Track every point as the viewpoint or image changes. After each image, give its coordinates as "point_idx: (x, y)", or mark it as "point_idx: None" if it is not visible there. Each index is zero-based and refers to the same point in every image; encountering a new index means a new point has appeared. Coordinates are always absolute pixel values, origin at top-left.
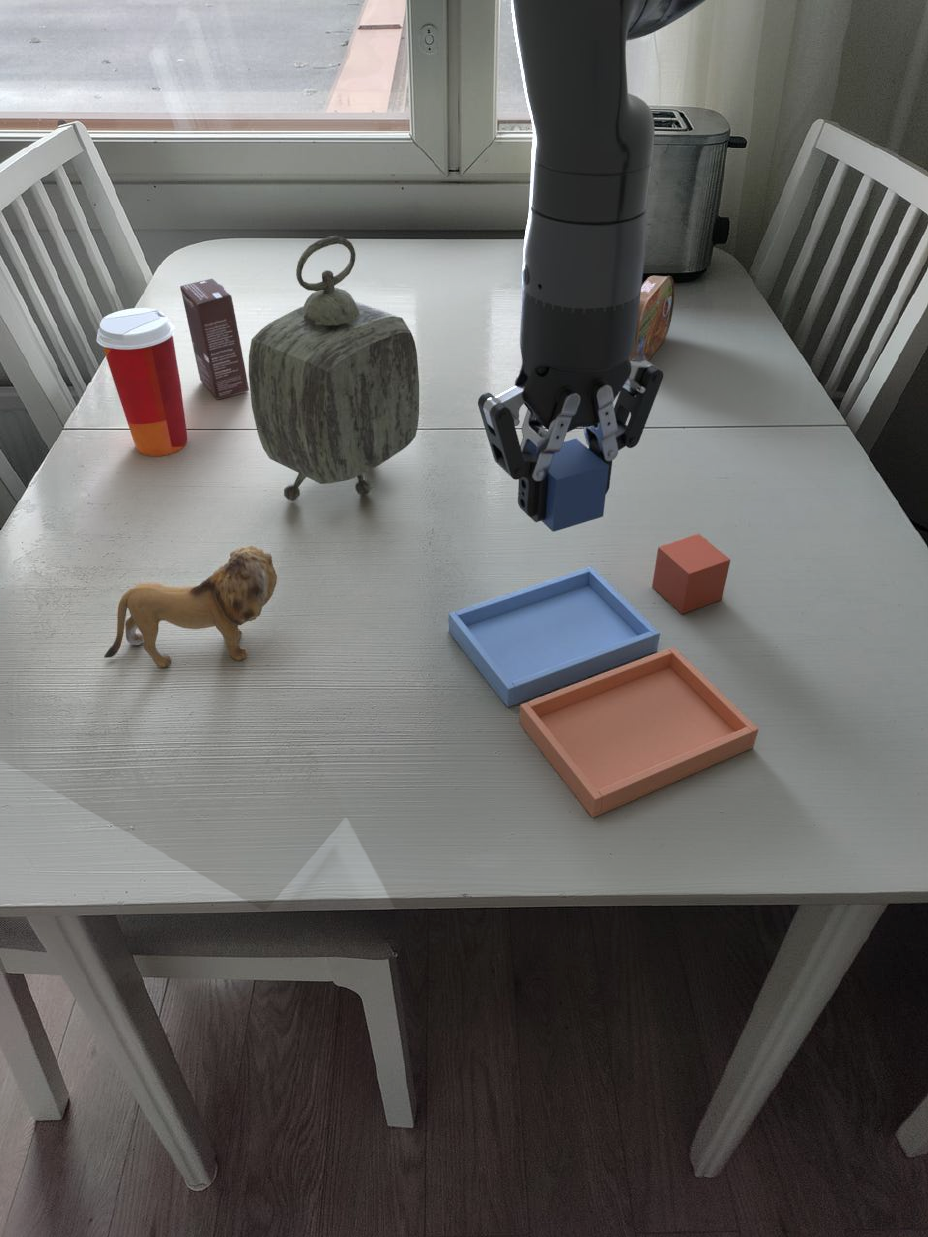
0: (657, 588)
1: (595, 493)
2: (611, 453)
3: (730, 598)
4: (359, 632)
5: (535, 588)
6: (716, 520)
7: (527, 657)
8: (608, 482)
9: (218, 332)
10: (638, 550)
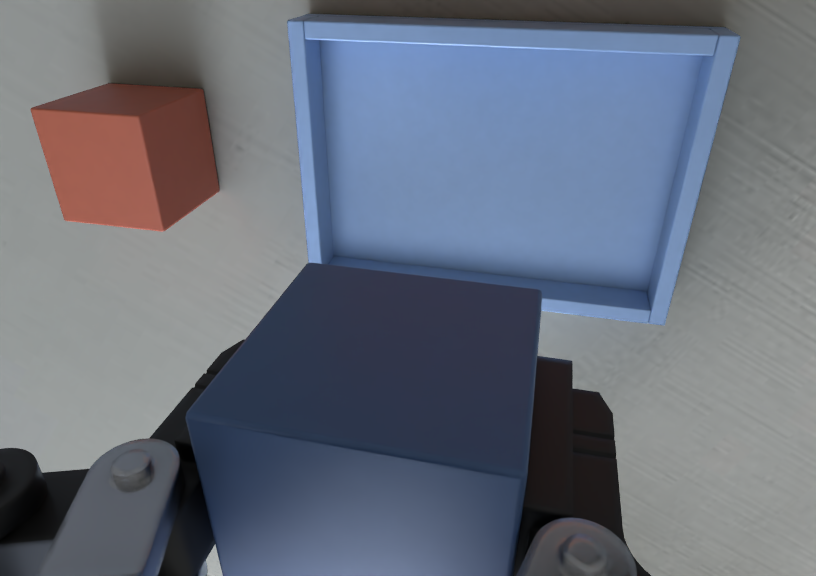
0: (213, 176)
1: (310, 335)
2: (132, 470)
3: (91, 77)
4: (812, 389)
5: None
6: (31, 273)
7: (580, 140)
8: (214, 370)
9: None
10: (196, 285)
